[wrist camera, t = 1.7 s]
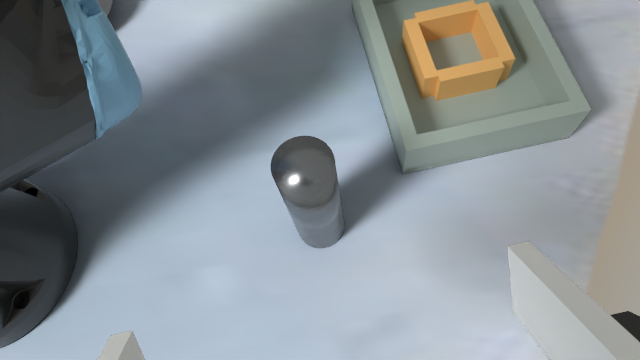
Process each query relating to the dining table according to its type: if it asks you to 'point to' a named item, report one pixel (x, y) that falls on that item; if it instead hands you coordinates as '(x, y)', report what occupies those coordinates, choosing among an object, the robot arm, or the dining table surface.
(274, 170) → the peg
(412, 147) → the walled box
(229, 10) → the dining table surface
